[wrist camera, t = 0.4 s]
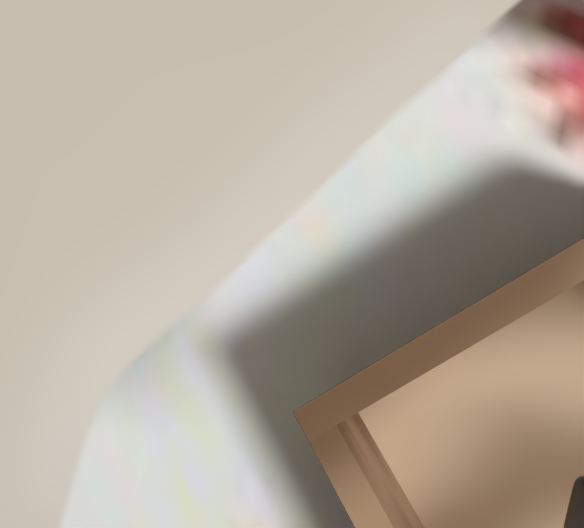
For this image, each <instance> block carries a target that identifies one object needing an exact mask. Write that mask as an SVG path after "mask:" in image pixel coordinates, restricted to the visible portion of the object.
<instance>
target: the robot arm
mask: <svg viewBox="0 0 584 528" xmlns="http://www.w3.org/2000/svg"><path fill="white" fill-rule="evenodd" d="M564 528H584V476H580V477H578V478H577V479H576V480H575V482H574V484H573V488H572V492H571V496H570V501H569V505H568V509H567V513H566V517H565V521H564Z"/></svg>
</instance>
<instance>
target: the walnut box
mask: <svg viewBox="0 0 584 528" xmlns="http://www.w3.org/2000/svg"><path fill="white" fill-rule="evenodd" d="M293 413H294V415H295V417H296V419H297V420H298V422H299V424H300V426H301V428H302V430H303V432H304V433H305V435H306V437H307V439H308V441H309V443H310V445H311V446H312V448H313V450H314V452H315V454H316V456H317V458H318V460H319V461H320V463H321V465H322V467H323V469H324V471H325V473H326V474H327V476H328V478H329V480H330V482H331V484H332V486H333V487H334V489H335V491H336V493H337V495H338V497H339V499H340V500H341V502H342V504H343V506H344V508H345V510H346V512H347V514H348V515H349V517H350V519H351V521H352V523H353V525H354V527H355V528H564V521H565V517H566V513H567V509H568V505H569V501H570V496H571V492H572V488H573V484H574V482H575V480H576V479H577V478H578V477H580V476H584V238H583V239H582V240H580V241H578V242H576V243H575V244H573V245H571V246H570V247H568V248H566V249H565V250H563V251H561V252H560V253H558V254H556V255H555V256H553V257H551V258H550V259H548V260H546V261H545V262H543V263H541V264H540V265H538V266H536V267H535V268H533V269H531V270H530V271H528V272H526V273H524V274H523V275H521V276H519V277H518V278H516V279H514V280H513V281H511V282H509V283H508V284H506V285H504V286H503V287H501V288H499V289H498V290H496V291H494V292H493V293H491V294H489V295H488V296H486V297H484V298H483V299H481V300H479V301H478V302H476V303H474V304H473V305H471V306H469V307H467V308H466V309H464V310H462V311H461V312H459V313H457V314H456V315H454V316H452V317H451V318H449V319H447V320H446V321H444V322H442V323H441V324H439V325H437V326H436V327H434V328H432V329H431V330H429V331H427V332H426V333H424V334H422V335H421V336H419V337H417V338H416V339H414V340H412V341H410V342H409V343H407V344H405V345H404V346H402V347H400V348H399V349H397V350H395V351H394V352H392V353H390V354H389V355H387V356H385V357H384V358H382V359H380V360H379V361H377V362H375V363H374V364H372V365H370V366H369V367H367V368H365V369H364V370H362V371H360V372H359V373H357V374H355V375H353V376H352V377H350V378H348V379H347V380H345V381H343V382H342V383H340V384H338V385H337V386H335V387H333V388H332V389H330V390H328V391H327V392H325V393H323V394H322V395H320V396H318V397H317V398H315V399H313V400H312V401H310V402H308V403H307V404H305V405H303V406H302V407H300V408H298V409H296V410H295V411H293Z"/></svg>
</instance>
